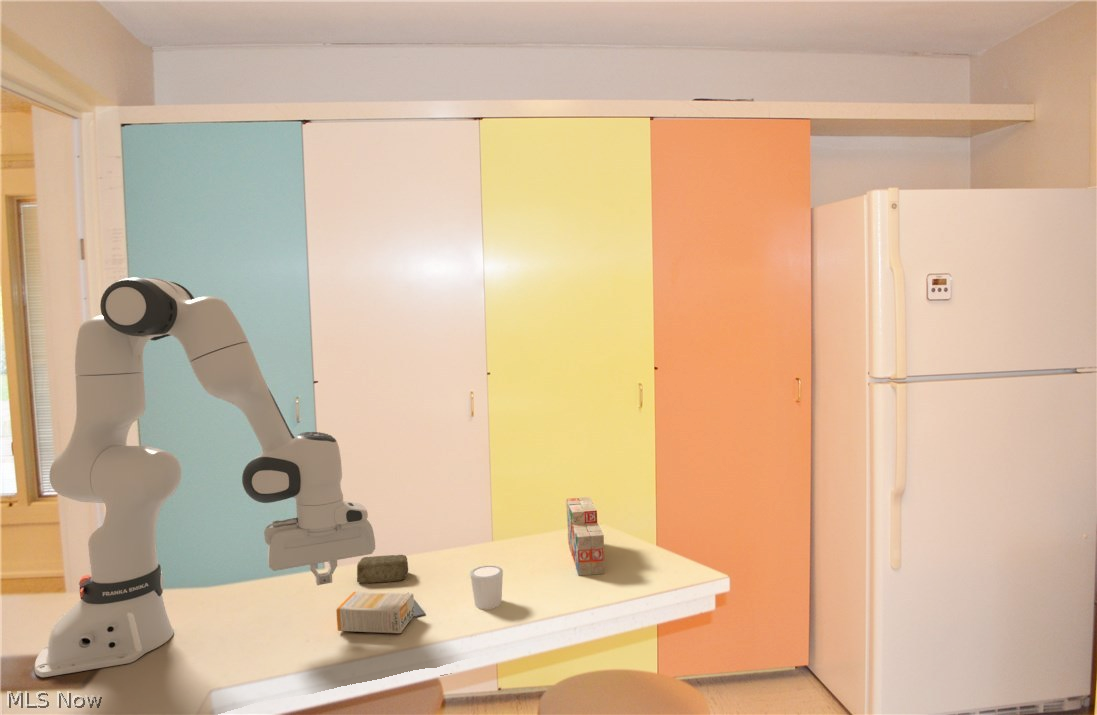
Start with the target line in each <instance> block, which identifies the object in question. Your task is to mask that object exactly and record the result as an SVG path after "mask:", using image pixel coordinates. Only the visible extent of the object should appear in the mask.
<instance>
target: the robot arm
mask: <svg viewBox="0 0 1097 715" xmlns="http://www.w3.org/2000/svg"><path fill="white" fill-rule="evenodd" d="M99 307H100V312H101V315H96V316H93V317H91V318H89V319H86V320H85V321H83V322H82V324H81V325H80V327H79V328H78V332H77V333H78V334H77V338H76V344H75V357H74V360H75V361H74V372H75V373H74V375H75V394H76V395H75V396H76V397H75V398H76V413H75V414H76V416H75V421H74V422H75V423H74V427H73V431H72V433H71V436H70V439H69V442H68V443H67V445H66V447H65V448H64V450H63V451H62V452H61V453H59V454H58V455H57V456H56V458H55V459H54V461H53V462H52V463H51V466H50V469H49V475H48V476H49V484H50V486H51V488H52V489H53V491H54V492H55V493H57V494H58V495H59V496H62V497H65V498H67V499H71V500H73V501H77V502H80V503H94V504H95V503H97V504H98V503H99V504H105V516H104V520H103V522H102V524H101V526H99V527H98V528H97V529H95V530H94V531H93V532H92V533H91V535H90V537H89V539H88V543H87V545H88V554H89V555H88V556H89V565H90V566H89V568H90V574H84V575H82V577H81V578H80V580H79V582H78V585H79V596H80V597H79V598H80V600H79V601H78V602H77V603H76V604H75V605H73V606H72V607H71V608H70V609H69V610H68V611H67V612H66V613H65V614H63V615H62V616H61V617H60V618H59V619H58V620H57V621H56V622H55V624H54V625H53V627H52V628H51V631H50V635H49V636H48V637H49V638H48V644H47V645H46V646H45V647H44V648H43V649H42V650H41V651H40V652H39V653H38V655H37V657H36V658H35V662H34V673H35V675H36V676H38V677H40V678H48V677H53V676H60V675H67V674H72V673H78V672H83V671H89V670H96V669H102V668H108V667H114V666H119V665H120V666H121V665H125V664H130V663H133V662H135V661H137V660H138V659H140V658H141V657H143V655H145V654H146V653H148V652H151V651H153V650H155V649H157V648H159V647H160V646H163V644H165V643H167V642H168V641H169V640H170V639H171V638H172V636H174V632H175V631H174V628H173V626H172V624H171V621H170V619H169V616H168V614H167V613H168V612H167V610H166V607H165V603H164V598H163V591H164V582H163V580H164V579H163V572H162V569H161V564H159V563H158V562H159V561H158V551H157V550H158V549H157V524H158V518H159V515H160V511H161V510H162V507H163V505H164V503H165V502H166V501H167V500H168V499H169V498H170V497H171V496H172V495H173V494H174V493H175V492H176V491H177V489H178V488H179V485H180V482H181V478H182V469H181V468H182V467H181V465H180V461H179V459H178V458H177V457H176V456H175V454H173V453H172V452H170V451H167V450H163V449H162V448H161V449H160V448H157V447H154V446H153V447H152V446H148V445H127V441H128V439H127V438H128V434H129V431H130V429H131V427H132V425H133V424H134V423H135V422H137V421H138V420H139V419H140V418H141V417H142V416H143V415H144V413H145V411H146V393H145V392H146V391H145V388H146V387H145V375H144V374H145V373H144V356H143V355H144V354H143V353H144V350H145V349H144V348H145V345H147V343H148V342H149V341H150V340H151V341H158V340H161V339H164V338H167V337H170V336H172V337H173V338H175V339H177V340H178V341H179V342H180V344H181V346H182V348H183V349H184V352H185V355H186V356H187V359H188V361H189V364H190V366H191V368H192V370H193V373H194V375H195V377H196V379H197V380H198V382H199V383H200V385H201V386H202V388H203V389H204V390H205V391H206V393H207V394H209V395H211V396H212V397H214V398H218V399H221V400H222V401H225V402H228V403H230V404H231V405H233V406H235V407H236V408H238V409H239V410H240V411H241V412H242V413H243V414H244V416H245V417H246V419H247V421H248V422H249V424H250V425H249V426H250V427H251V429H252V430H253V432H254V434H255V436H256V438H257V440H258V442H259V444H260V446H261V449H262V453H261V454H259V455H258V456H256V457H254V458H253V459H252V460H251V461H249V463H247V465H246V466H245V467H244V469H243V472H242V476H241V481H242V482H241V483H242V487H243V489H244V491H245V492H246V495H247V496H248V497H250V498H251V499H252V500H253V501H256V502H257V503H261V504H262V503H263V504H270V503H276V502H280V501H285V500H288V499H291V498H292V499H293V498H294V499H295V506H296V507H295V508H296V517H293V518H288V519H283V520H275V521H272V523H269V524H268V525H267V526H266V527H265V529H264V542H265V543H266V545H268V547H267V565H268V568H269V569H270V570H271V571H274V572H276V571H282V570H287V569H293V568H298V567H299V568H301V567H304V566H305V567H306V566H308V567H309V570H310V571H311V572H312V574H313V575H314V576H315V584H316V586H321V585H327V584H332V583H333V575H334V572H335V571H336V569H337V567H338V561H339V560H346V559H351V558H356V557H357V558H358V557H363V556H367V555H371V554H373V553H374V552H375V550H376V540H375V539H376V538H375V533H374V529H373V526H372V524H371V522H370V521H369V519H368V518H369V517H368V515H369V513H368V510H367V509H366V507H365V506H363V504H361V503H358V502H354V501H353V502H352V501H346V500H344V494H343V492H342V487H341V482H342V479H343V478H342V477H343V470H342V458H341V451H340V447H339V444H338V441H337V439H336V438H334V437H333V435H331V434H328V433H325V432H320V431H319V432H317V431H306V432H301V433H298V434H297V435H296V436H294V434H293V432H292V431H291V429H290V428H289V425H288V424H287V422H286V420H285V417H284V415H283V414H282V411H281V410H280V408H279V406H278V404H277V402H276V399H275V397H274V396H273V394H272V392H271V390H270V389H269V386H268V385H267V384H268V383H267V382H266V380H265V377H264V376H263V374H262V371H261V369H260V367H259V363H258V362H257V359H256V356H255V355H254V351H253V349H252V346H251V345H250V342H249V340H248V338H247V335H246V333H245V331H244V330H243V327H242V326H241V324H240V322H239V320H238V318H237V316H236V315H235V314H234V312H233V310H232V309H231V308H230V306H229V305H228V303H227V302H226V301H225V300H224V299H222V298H219V297H216V296H210V295H209V296H200V297H196V298H195V296H194V295H193V294H192V293H191V291H190V290H189V289H187V288H186V287H184V286H183V285H181V284H179V283H177V282H174V281H168V280H164V279H162V278H157V277H156V278H155V277H147V278H142V277H126V278H123V279H120V280H117V281H115V282H114V283H112V284H111V285H110V286H108V287H107V288H106V290H104V292H103V294H102V297H101V298H100V306H99ZM326 562H327V563H328V564H329V568H328V570H327V571H326V572H322V573H319V571H318V568H319V564H324V563H326Z"/></svg>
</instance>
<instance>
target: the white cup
mask: <svg viewBox="0 0 1097 715" xmlns="http://www.w3.org/2000/svg"><path fill="white" fill-rule="evenodd" d="M503 571H504V570H503V568H501V567H499V566H496V565H482V566H478V567H475V568H474V569H472V570H471V571H470V572H469V575H470V582H471V588H472V594H473V595H472V596H473V601H474V606H475V608H477V609H480V610H491V609H492V608H493V609H495V607H496V608H497V607H500V606H501V605H502V599H503V576H504V572H503ZM493 609H492V610H493Z"/></svg>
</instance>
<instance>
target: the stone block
mask: <svg viewBox="0 0 1097 715" xmlns="http://www.w3.org/2000/svg"><path fill="white" fill-rule="evenodd" d="M408 573H409V563H408V557H407V555H405V554H391V555H389V554H388V555H376V556H364V557H362V558H361V559H360V560H359V562H358V563H357V565H356V576H357V577H356V581H357V583H362V584H375V583H387V582H388V583H389V582H399V581H400V582H401V581H403V580H405V578H406V577H407V576H408Z"/></svg>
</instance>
